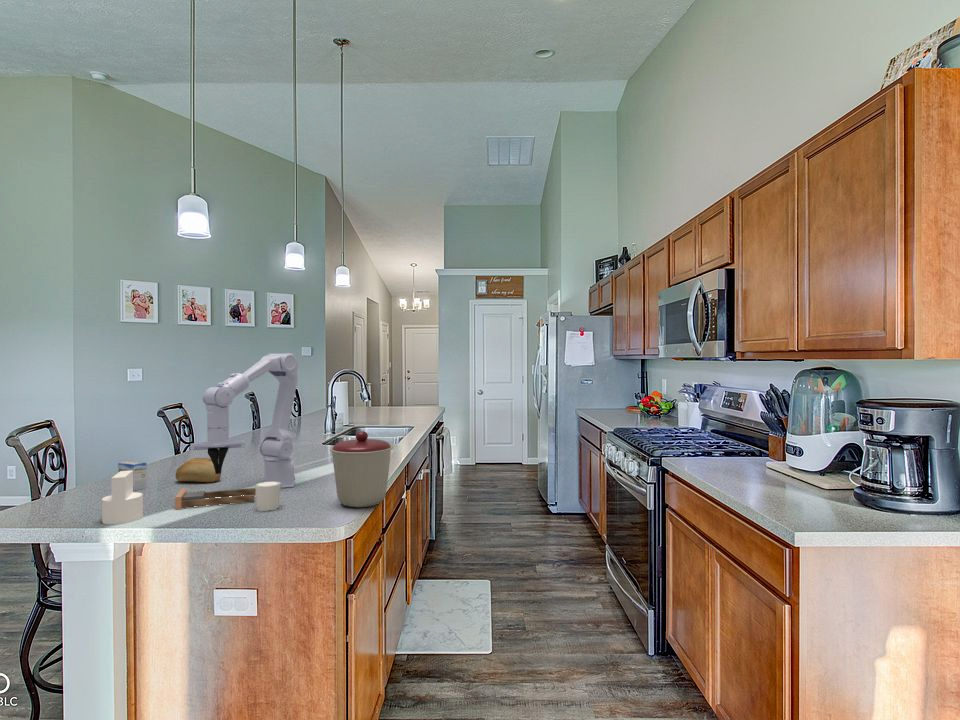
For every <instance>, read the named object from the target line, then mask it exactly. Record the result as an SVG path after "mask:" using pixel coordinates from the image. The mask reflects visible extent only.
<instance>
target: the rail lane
mask: <svg viewBox="0 0 960 720" xmlns="http://www.w3.org/2000/svg"><path fill="white" fill-rule="evenodd" d="M187 492H188V488H187V487H186V488H181V489H180V490H179V491H178V493H177V494H176V495H175V498H174V501H175V502H174V504H175V505H174V506H175V507H174V509H178V510H182V509H181V508H184V509H187V508H186V507H194V506H206V505H218V506H220V505H219V504H229V505H231V504H230V503H240V504H243V503H242V502H251V503H255V496H256V489H255V487H252V488H251V487H250V488H240V489H239V488H237V489H227V490H226V489H225V490H216V491H215V490H214V491H205V498H209V499H197V500H186V501H183V497H184V495H185V494H186V493H187ZM241 495H242V496H241ZM243 495H244V496H243ZM229 496H232V497H229ZM215 497H221V498H215Z"/></svg>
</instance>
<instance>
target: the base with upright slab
mask: <svg viewBox="0 0 960 720" xmlns="http://www.w3.org/2000/svg"><path fill="white" fill-rule="evenodd" d="M110 480H111V481H110V482H111V483H110V484H111V485H110V486H111V489H110V490H111V493H110V495H107V496H104V497H102V499H101V518H102V519H101V520H102V521H101V522H103V524H104V525H123V524H129V523H133V522H136V521H139V520H141V519H142V518H143V517H144V505H143V503H144V498H143V493H142V492H138V491H133V470H131V471H120V472H119V473H118V472H117V473H116V474H115V475H114V476H111V479H110ZM141 517H142V518H141ZM140 518H141V519H140ZM138 519H139V520H138ZM135 520H136V521H135Z"/></svg>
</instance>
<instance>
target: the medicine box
mask: <svg viewBox="0 0 960 720" xmlns="http://www.w3.org/2000/svg"><path fill="white" fill-rule="evenodd" d="M131 470H133V492H138V491H142V490H145V488H146V489H147V488H148V487H147V482H148V481H147V474H148V473H147V462H141V461H133V460H126V461H122V462H118V464H117V473H119V472H120V471H131ZM141 489H142V490H141ZM137 490H138V491H137Z"/></svg>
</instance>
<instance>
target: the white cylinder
mask: <svg viewBox="0 0 960 720" xmlns="http://www.w3.org/2000/svg"><path fill="white" fill-rule="evenodd" d="M254 488H255V489H256V495H255V497H256V507H257V510H258V511H259V510H261V511H260V512H269V510H271V511H275V510H278V509H279V507H280V498H281V497H280V496H281V483H280V482H277V481H269V482H265V481H262V482H258V483H255V485H254ZM277 508H278V509H277ZM274 509H275V510H274Z"/></svg>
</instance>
